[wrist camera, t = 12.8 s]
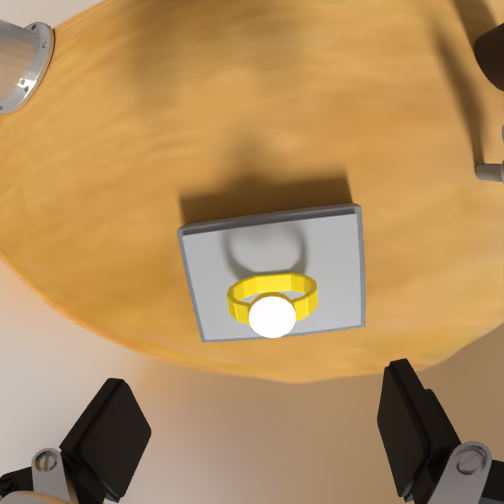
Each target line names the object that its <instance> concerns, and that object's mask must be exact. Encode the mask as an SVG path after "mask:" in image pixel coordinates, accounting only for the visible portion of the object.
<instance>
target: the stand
mask: <svg viewBox="0 0 504 504" xmlns="http://www.w3.org/2000/svg"><path fill="white" fill-rule="evenodd" d="M177 234H178V239H179V244H180V249H181V254H182V259H183V264H184V269H185V273H186V278H187V282H188V287H189V291H190V295H191V300H192V304H193V308H194V312H195V316H196V320H197V324H198V328H199V332H200V336H201V340H202V343H204V342H225V341H242V340H256V339H268V338H267V337H264V336H261V335H259V334H258V333H256V332H255V331H254V330H253V329H252V327H251V326H250V325H249V324H245V323H241V322H239V321H237V320H236V319H235V318H234V317H233V316H231V315H230V313H229V309H228V302H227V296H226V295H227V292H228V289H229V288H230V286H232V285H233V284H235V283H236V282H238V281H240V280H242V279H245V278H248V277H251V276H254V275H268V274H281V273H289V272H291V273H292V272H294V273H299V274H304V275H307V276H309V277H311V278H312V279H314V280H315V281H316V282H317V296H318V306H317V308H316V309H315V310H314V311H313V312H312V313H311V314H310V315H309V316H308V317H306V318H304V319H301V320H298V321H296V322H295V324H294V326H293V328H292V329H291V330H290V331H289V332H288V333H287V334H285V335H283V336H281V337H289V336H299V335H308V334H316V333H324V332H332V331H339V330H346V329H353V328H359V327H365V258H364V239H363V224H362V212H361V206H360V205H358V204H355V203H343V204H334V205H325V206H316V207H307V208H299V209H291V210H283V211H275V212H267V213H259V214H252V215H245V216H237V217H230V218H223V219H217V220H210V221H203V222H197V223H190V224H186V225H184V226H182V227H180V228H179V229H177ZM278 292H279V293H282V294H285V295H286V296H287V297H289V298H290V299H291V300H292V299H295V298H298V297H301V296H304V295H305V293H300V292H296V291H292V290H291V291H278ZM264 293H266V292H264ZM260 294H262V293H257V294H254V295H251V296H249V297H246V298H244V299H242V300H241V301H243V302H247V303H251V302H252V301H253V300H254V299H255V298H256V297H257V296H259V295H260ZM277 338H279V337H277Z"/></svg>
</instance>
